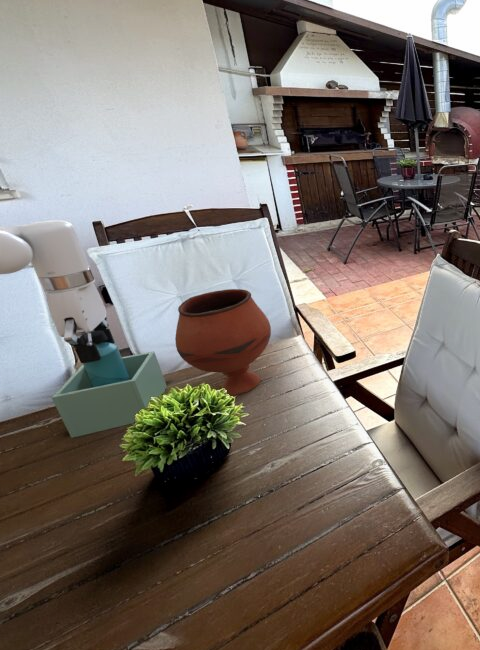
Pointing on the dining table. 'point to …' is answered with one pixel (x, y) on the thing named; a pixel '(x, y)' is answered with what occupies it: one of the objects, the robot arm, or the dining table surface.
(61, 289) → the robot arm
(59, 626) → the dining table surface
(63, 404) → the bin
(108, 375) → the beverage bottle
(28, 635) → the dining table surface
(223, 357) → the goblet
